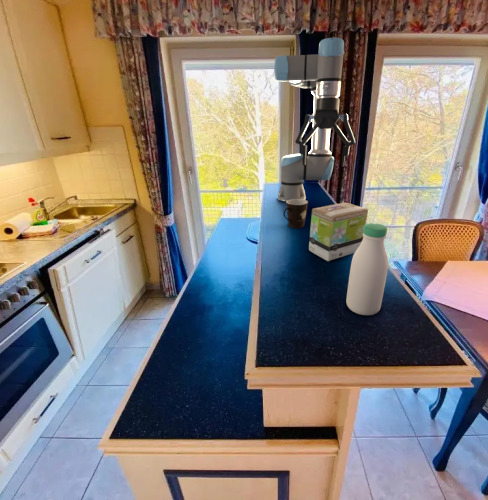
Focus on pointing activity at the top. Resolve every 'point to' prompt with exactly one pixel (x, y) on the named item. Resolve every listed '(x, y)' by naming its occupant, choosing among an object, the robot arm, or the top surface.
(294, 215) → the coffee mug
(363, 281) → the milk bottle
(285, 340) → the top surface
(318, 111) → the robot arm
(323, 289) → the top surface
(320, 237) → the tea box
